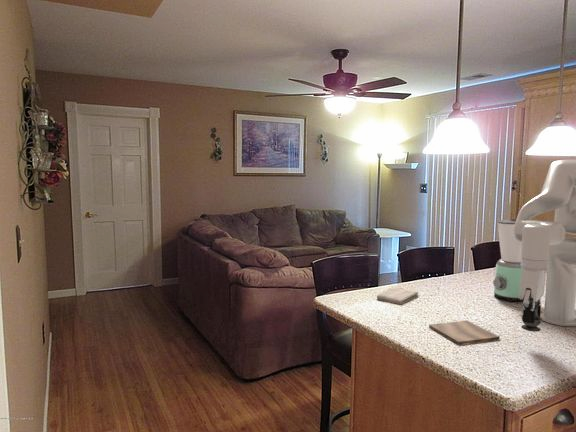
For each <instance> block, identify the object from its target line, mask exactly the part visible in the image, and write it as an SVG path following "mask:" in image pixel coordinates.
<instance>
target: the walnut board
mask: <svg viewBox="0 0 576 432" xmlns="http://www.w3.org/2000/svg"><path fill="white" fill-rule="evenodd" d="M428 328H429V329H431V330H433V331H434V332H437V333H438V334H440V335H441V336H443V337H444V338H446V339H448V340H449V341H452V342H453V343H454V344H456V345H458V346H461V345H468V344H474V343H475V344H476V343H485V342H491V341H498V340H500V336H499V335H497V334H495V333H493V332H491V331H489V330H488V329H486V328H483V327H481V326H479V325H477V324H475V323H473V322H471V321H469V320H459V321H458V320H457V321H449V322H441V323H433V324H429V325H428Z"/></svg>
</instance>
